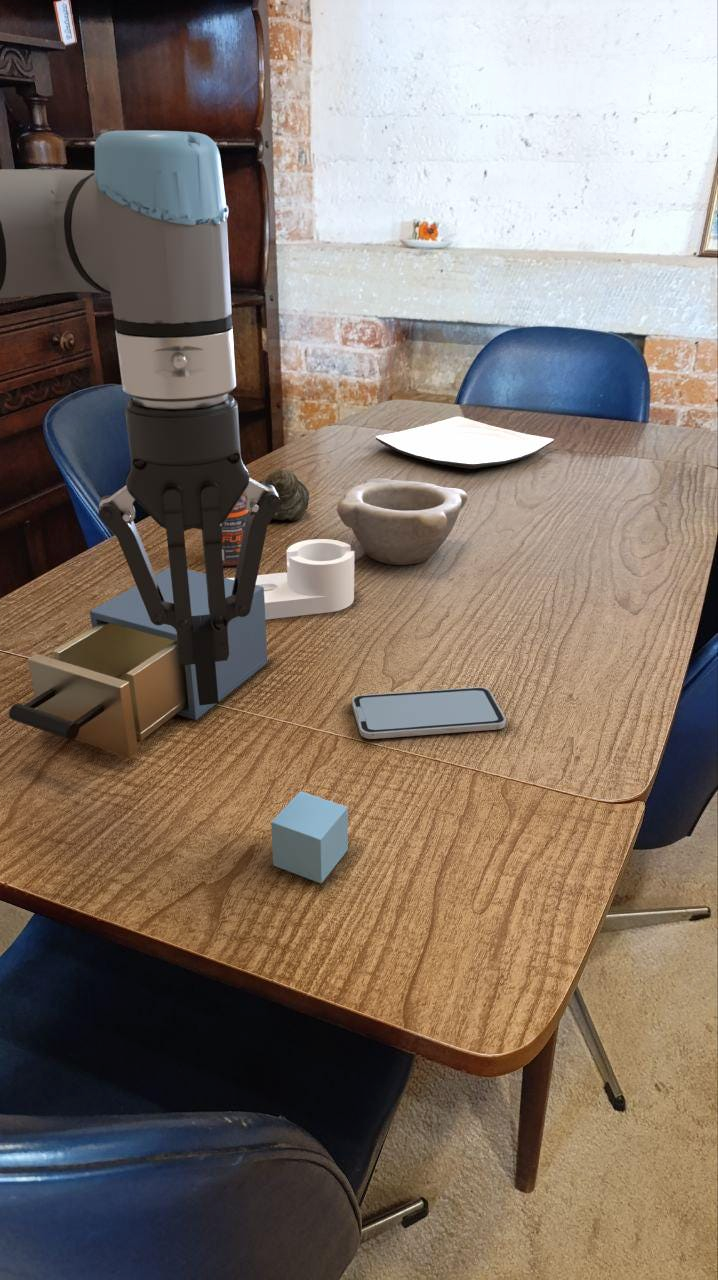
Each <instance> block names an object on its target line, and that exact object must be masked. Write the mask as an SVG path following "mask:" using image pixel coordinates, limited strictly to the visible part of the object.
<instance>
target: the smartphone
mask: <svg viewBox="0 0 718 1280" xmlns="http://www.w3.org/2000/svg"><path fill="white" fill-rule="evenodd" d="M351 708H352V712H353V715H354V718H355V722H356V725H357V728H358V732H359V735H360V736H361V737H362V738H364V739H367V740H373V739H375V740H376V739H387V738H388V739H389V738H400V737H401V738H402V737H403V738H404V737H415V736H427V735H429V736H430V735H442V734H457V733H466V732H468V733H469V732H481V731H493V730H502V729H503V728H505V727H506V722H507V721H506V720H507V718H506V716H505V715H504V713H503V710H502V709H501V708H500V705H499V704H498V701H497V699H495V696H494V694H493V693H492V691H491V690H490V689H489V688H487V687H484V686H473V687H472V686H471V687H459V688H458V687H457V688H444V689H429V690H427V689H426V690H414V691H399V692H385V693H370V694H368V693H367V694H358V695H355V696H353V697H352V699H351Z"/></svg>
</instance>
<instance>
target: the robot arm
mask: <svg viewBox="0 0 718 1280" xmlns="http://www.w3.org/2000/svg"><path fill="white" fill-rule="evenodd" d="M93 147H94V170H89V169H88V170H87V169H86V170H85V169H65V168H55V167H51V168H38V167H37V168H28V169H20V168H19V169H17V168H15V169H14V168H10V169H9V168H5V169H4V168H2V169H1V168H0V299H5V298H8V299H9V298H18V297H29V296H30V297H31V296H42V295H51V294H62V293H76V292H77V293H79V292H81V293H82V292H83V293H97V294H107V295H110V298H111V304H112V312H113V321H114V329H115V338H116V347H117V356H118V364H119V371H120V379H121V386H122V391H123V392H124V393H125V394H126V395H127V396H129V397H131V398H129V400H127V402H126V404H125V405H124V413H125V414H124V415H125V423H126V431H127V440H128V447H129V454H130V455H129V456H130V466H129V469H128V471H127V473H126V477H125V479H126V481H125V482H126V483H125V485H124V486H123V487H121V488H120V489H119V490H117V491H116V492H114V493H113V494H112V495H110V494H106V495H104V496H101V498H100V499H99V504H98V517H99V519H100V521H101V522H102V523H103V524H104V525H105V526H106V527H107V529H108V530H109V531H110V532H111V533H113V535H114V536H115V537H116V539H117V541H118V543H119V545H120V549H121V551H122V554H123V556H124V558H125V561H126V563H127V565H128V568H129V571H130V573H131V576H132V579H133V580H134V583H135V586H136V585H137V588H138V590H139V593H140V595H141V598H142V600H143V603H144V605H145V607H146V610H147V612H148V615H149V617H150V620H151V622H152V623H153V624H155V625H162V624H167V625H170V626H172V627H174V628H175V630H176V632H177V639H178V649H179V658H180V661H181V663H182V665H192V664H195V669H196V680H197V690H198V697H199V705H208V704H216V705H217V704H219V703H220V701H218V690H217V678H216V666H215V662H217V661H227V660H228V657H229V644H228V630H227V627H228V623H229V621H231V620H232V619H233V618H236V617H238V616H239V617H245V616H247V615H248V614H249V613H250V610H251V605H252V600H253V595H254V590H255V585H256V580H257V575H259V570H260V564H261V559H262V554H263V550H264V545H265V540H266V536H267V531H268V526H269V524H270V522H271V521H272V520H273V519H272V518H273V516H274V514H275V513H276V511H277V510H278V508H279V506H280V504H281V503H280V498H279V496H278V494H277V492H276V490H275V488H274V487H273V486H272V485H269V484H267V485H262V484H260V483H259V482H260V481H257V480H255V479H253V478H251V477H250V474H249V473H250V472H249V470H248V468H247V466H246V464H245V463H244V461H243V460H242V454H241V437H240V423H239V406H238V405H239V403H238V401H237V400H236V399H235V398H234V397H233V396H232V395H231V394H230V393H232V391H233V390H234V389H235V388H236V387H237V378H236V377H237V376H236V363H235V347H234V333H233V316H232V311H233V310H232V295H231V274H230V257H229V255H230V254H229V237H228V235H229V234H228V217H229V206H228V205H227V201H226V192H225V185H224V177H223V176H224V175H223V168H222V160H221V154H220V150H219V148H218V146H217V144H216V143H215V141H214V140H213V139H212V138H211V137H210V136H208V135H206V134H204V133H200V132H195V131H180V130H139V129H138V130H137V129H135V130H134V129H133V130H111V131H107V132H103V133H101V134H99V136H98V137H97V138H96V140H95V143H94V146H93ZM243 494H244V495H245V498H244V499H245V506H246V508H247V510H248V513H247V517H246V522H245V527H244V532H243V537H242V543H241V548H240V553H239V558H238V564H237V566H236V571H235V574H234V578H235V579H234V584H233V590H232V595H231V596H229V597H226V598H225V585H224V578H225V574H224V566H223V560H222V547H221V528H220V524H222V523H223V522H224V521H225V520H226V518H227V517H228V515H229V514H230V512H231V511H232V509H233V508H234V506H235V505H236V503H237V502H238V500H239V499H240V497H243ZM135 502H137V503H138V505H140V506H141V508H142V509H144V511H145V512H146V513H147V514H148V515H149V516H150V518H152V520H154V522H155V523H157V525H159V526H160V527H161V528H162V529H165V532H166V540H167V541H166V542H167V550H168V561H169V562H168V563H169V567H170V572H171V581H172V591H173V601H174V603H170V602H165V600H164V597H163V595H162V592H161V590H160V587H159V584H158V582H157V579H156V577H155V575H156V574H155V572H154V569H153V566H152V564H151V562H150V559H149V557H148V554H147V551H146V549H145V546H144V544H143V541H142V539H141V536H140V533H139V531H138V529H137V525H136V524H135V522H134V520H135V518H136V508H135V505H134V503H135ZM193 529H196V530H201V537H202V547H203V559H204V573H205V574H206V584H207V595H208V606H209V614H208V615H198V616H192V615H191V604H190V593H189V582H188V571H187V569H188V563H187V550H186V539H185V532H186V531H189V530H193Z"/></svg>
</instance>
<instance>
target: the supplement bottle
mask: <svg viewBox="0 0 718 1280" xmlns="http://www.w3.org/2000/svg"><path fill="white" fill-rule="evenodd" d="M247 513H248V510H247V508H246V506H245V498H244V496H241V497H240V499H239V500H238V502H237V503H236V505H235V506H234V508H233V509H232V511H231V512H230V514H229V515H228V517H227V518H226V520H225V521H224V522H223V523H222V524H220V528H221V547H222V560H223V567H237V564H238V558H239V553H240V548H241V543H242V537H243V532H244V527H245V522H246V517H247Z"/></svg>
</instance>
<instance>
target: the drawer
mask: <svg viewBox="0 0 718 1280" xmlns="http://www.w3.org/2000/svg"><path fill="white" fill-rule="evenodd" d="M52 655H53V657H49V656H46V655H43V654H39V653H35V654H33V655H32V656H29V657H28V658H27V663H28V668H29V673H30V679H31V683H32V689H33V694H34V698H32V699H31V700H29V701H28V702H27V703H25V704H22V703H18V702H17V703H14V704H13V705H12V706H11V707H10V708H9V711H8V717H9V719H10V720H11V721H14V722H17V723H20V724H23V725H25V726H29V727H32V728H34V729H36V730H39V731H43V732H45V733H48V734H50V735H54V736H57V737H59V738H63V739H65V740H68V741H74V740H77V741H80V742H83V743H85V744H88V745H92V746H94V747H98V748H100V749H103V750H106V751H109V752H110V753H114V754H117V755H120V756H123V757H125V758H128V759H131V758H133V757H134V756H135V755H137V754H138V753H139V747H138V740H139V741H143V740H144V739H145V738H146V737H148V736H149V735H150V734H152V733H153V732H154V731H156V730H157V729H158V728H160V727H161V726H162V725H164V724H165V723H166V722H167V721H169V720H170V719H171V718H173V717H174V716H175V715H177V714H176V713H178V712H179V711H180V710H182V709H183V708H184V707H186V706H187V705H188V694H187V684H186V674H185V665H182V663H181V661H180V658H179V649H178V642H177V641H174V640H170V639H166V638H163V637H159V636H156V635H152V634H148V633H145V632H141V631H137V630H134V629H130V628H126V627H123V626H119V625H115V624H112V623H108V622H105V621H104V622H102V623H100V624H99V625H97V626H95V627H94V628H92V627H91V628H89V629H88V630H86V631H85V632H83V633H82V634H80V635H78V636H76V637H75V638H73V639H71V640H69V641H68V642H66V643H64V644H62V645H60V646H59V647H57V648H55V649H53V650H52Z"/></svg>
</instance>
